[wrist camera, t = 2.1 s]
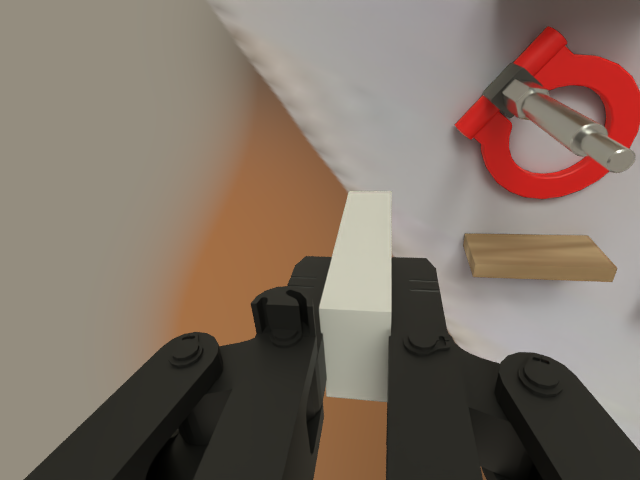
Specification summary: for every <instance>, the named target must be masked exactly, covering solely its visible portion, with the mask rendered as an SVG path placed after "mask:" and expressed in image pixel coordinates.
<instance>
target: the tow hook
mask: <svg viewBox="0 0 640 480" xmlns="http://www.w3.org/2000/svg"><path fill="white" fill-rule="evenodd" d="M566 44H567V41H566V39H565V38H564V37H563V36H562V35H561V34H560V33H559V32H558V31H557V30H555V29H554V28H551V27H549V26H547V27H546V28H545V30H544V31H543V32H542V33H541V34H540V35H539V36H538V37H537V38H536V39H535V40H534V41H533V42H532V43H531V44H530V45H529V46H528V48H527V49H526V50H525V51H524V52H523V53H522V54H521V55H520V56H519V57H518V58H517V59H516V60H515V61H514V62H513V63H510V64H509V65H508V66H507V67H506V68H505V69H504V70H503V72H502V73H501V74H500V75H499V76H498V77H497V78H496V79H495V80H494V81H493V82H492V83H491V84H490V85H489V86H488V87H487V89H486V90H485V91H484V92H483V95H484V96H483V95H482V96H481V97H480V98H479V100H478V101H477V102H476V103H475V104H474V105H473V106H472V107H471V108H470V109H469V110H468V111H467V112H466V113H465V114H464V115H463V116H462V118H461V119H460V120H459V121H458V122H457V123H456V124H455V126H456V128H457V129H458V131H459V132H461V133H462V134H463V135H464V136H465V137H467V138H469V139H471V140H472V139H473V138H475V139H476V140H477V141H478V142H479V143H481V153H482V156H483V160H484V163H485V166H486V168H487V169H488V171H489V172H490V173H491V175H492V176H493V178H494V179H495V181H496V182H497V183H498V184H500V185H501V186H502V187H504V188H505V189H506V190H508V191H509V192H512V193H515V194H517V195H520V196H523V197H528V198H538V199H546V198H554V197H562V196H565V195H568V194H571V193H574V192H577V191H580V190H582V189H584V188H585V187H587V186H589V185H591V184H593V183H594V182H596V181H598V180H599V179H601V178H602V177H603V176H604V175H605V174H607V173H608V172H609V171H610V172H613V173H620V172H623V171H626V170H627V169H629V168H630V167H631V166H632V165H633V163H634V161H635V153H634V152H633V151H632V150H630V149H629V148H630V146H631V144H632V142H633V140H634V138H635V137H636V135H637V133H638V130H639V125H640V91H639V89H638V87H637V85H636V83H635V81H634V79H633V77H632V76H631V75H630V74H629V73H628V72H627V71H626V70H625V69H623V68H622V67H621V66H620V65H619V64H617V63H614V62H612V61H609V60H607V59H604V58H602V57H599V56H594V55H579V54H573V53H572V52H571V51H570V50H569V49H568V48H567V47H566V46H565V45H566ZM569 85H576V86H585V87H588V88H590V89H592V90H593V91H594V92H595V93H596V94H598V95H599V96H600V98H601V100H602V102H603V104H604V106H605V112H606V122H605V127H604V126H603V125H601V124H599V123H597V122H595V121H594V120H592V119H590V118H588V117H586V116H584V115H582V114H581V113H579V112H577V111H575V110H573V109H571V108H569V107H568V106H566V105H564V104H562V103H560V102H558V101H557V100H555V99H553V98H551V97H550V95H549V91H548V90H552V89H555V88H558V87H563V86H569ZM499 109H500V110H501V111H502V112H503V113H504V114H505V115H506V116H508V117H509V118H512V117H513V116H514V115H515V116H516V117H517V118H520V119H525V120H531V121H532V122H533V123H535V124H536V125H537V126H538V127H540V128H541V129H542V130H544V131H545V132H546V133H548V134H549V135H550V136H552V137H553V138H554V139H556V140H557V141H558V142H559V143H561V144H562V145H563V146H565V147H566V148H567V149H569V150H570V151H571V152H573V153H574V154H575V155H577V156H586V157H584V158H583V159H582V160H581V161H580V162H578V163H576V164H574V165H573V166H571V167H569V168H567V169H564V170H561V171H558V172H554V173H546V174H541V173H532V172H529V171H527V170H524V169H522V168H521V167H519V166H518V165H517V164H516V163H515V162H514V160H513V159H512V157H511V153H510V150H509V136H510V133H511V130H512V123H511V122H510V121H509V120H508V119H507V118H506V117H505V116H504V115H502V114H501V113H500V112H499V111H500V110H499Z"/></svg>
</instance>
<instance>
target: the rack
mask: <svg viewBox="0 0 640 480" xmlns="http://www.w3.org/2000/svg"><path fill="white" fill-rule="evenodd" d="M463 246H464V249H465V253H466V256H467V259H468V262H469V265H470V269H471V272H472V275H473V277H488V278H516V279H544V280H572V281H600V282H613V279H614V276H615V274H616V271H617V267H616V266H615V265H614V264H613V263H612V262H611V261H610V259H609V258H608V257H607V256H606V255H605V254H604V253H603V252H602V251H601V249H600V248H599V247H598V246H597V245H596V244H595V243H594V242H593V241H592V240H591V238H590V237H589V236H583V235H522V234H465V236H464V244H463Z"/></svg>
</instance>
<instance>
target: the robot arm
mask: <svg viewBox="0 0 640 480" xmlns="http://www.w3.org/2000/svg"><path fill="white" fill-rule="evenodd" d="M251 307H252V312H253V317H254V322H255V327H256V333H257V334H256V336H255V338H253V339H251V340H248V341H244V342H240V343H235V344H230V345H225V346H219V345H218V343H217V341H216V339H215V338H214V337H213V336H211V335H209V334H207V333H200V332H193V333H188V334H183V335H181V336H179V337H176V338H174V339H172V340H171V341H169V342H168V343H167V344H166V345H164V346H163V347H162V348H160V350H158V351H157V352H156V353H155V354H154V355H153V356H152V357H151V358H150V359H149V360H148V361H147V362H146V363H145V364H144V365H143V366H142V367H141V368H140V369H139V370H138V371H137V372H135V373H134V374H133V375H132V376H131V377H130V378H129V379H128V380H127V381H126V382H125V383H124V384H123V385H122V386H121V387H120V388H119V389H118V390H117V391H116V392H115V393H114V394H113V395H111V396H110V397H109V398H108V399H107V400H106V401H105V402H104V403H103V404H102V405H101V406H100V407H99V408H98V409H97V410H96V411H95V412H94V413H93V414H92V415H91V416H90V417H89V418H87V420H85V422H83V423H82V424H81V425H80V426H79V427H78V428H77V429H76V430H75V431H74V432H73V433H72V434H71V435H70V436H69V437H68V438H67V439H66V440H65V441H63V443H61V444H60V445H59V446H58V447H57V448H56V449H55V450H54V451H53V452H52V453H51V454H50V455H49V456H48V457H47V458H46V459H45V460H44V461H43V462H42V463H41V464H40V465H39V466H37V467H36V468H35V469H34V470H33V471H32V472H31V473H30V474H29V475H28V476H27V477H26V478H25V479H24V480H313V478H314V472H315V466H316V460H317V454H318V448H319V442H320V437H321V431H322V424H323V419H324V413H323V396H324V391H325V386H326V394H327V396H328V397H338V398H349V399H360V400H371V401H381V402H387V442H386V445H387V455H386V480H483V478H482V473H481V468H480V466H481V467H482V470H483V473H484V475H485V477H486V479H487V480H640V451H639V450H638V449H637V447H636V446H635V445H634V444H633V443H632V442H631V440H630V439H629V438H628V437H627V436H626V434H625V433H624V432H623V431H622V430H621V428H620V427H619V426H618V425H617V424H616V423H615V421H614V420H613V419H612V418H611V417H610V415H609V414H608V413H607V412H606V411H605V410H604V408H603V407H602V406H601V405H600V404H599V402H598V401H597V400H596V399H595V398H594V397H593V395H592V394H591V393H590V392H589V391H588V389H587V388H586V387H585V386H584V385H583V384H582V382H581V381H580V380H579V379H578V378H577V376H576V375H575V374H573V373H572V372H571V371H570V370H569V369H568V368H567V367H566V366H565V365H563V364H561V363H559V362H557V361H556V360H554V359H552V358H550V357H547V356H544V355H540V354H537V353H528V352H518V353H515V354H512V355H508V356H507V357H506V358H505V359H504V360H503V361H502V362H501V364H499V363H496V362H492V361H489V360H486V359H483V358H480V357H477V356H474V355H472V354H470V353H468V352H466V351H465V350H463V349H461V348H460V347H459V346H458V345H457V344H455V343H454V340H453V338H452V337H451V336H450V335H449V334H448V331H447V327H446V322H445V316H444V311H443V306H442V300H441V295H440V289H439V284H438V278H437V273H436V268H435V267H434V266H433V265H432V264H431V263H430V262H429V261H428V260H427V259H426V258H396V257H391V191H349V193H348V197H347V201H346V205H345V209H344V213H343V217H342V221H341V224H340V228H339V232H338V236H337V240H336V244H335V248H334V251H333V255H332V257H314V256H311V257H310V256H306V257H304V258H303V259H302V260H301V261H300V262H299V263H298V264H296V265H295V268H294V270H293V273H292V275H291V278H290V280H289V283H288V286H285V287H276V288H273V289H270V290H267V291H264V292H263V293H261V294H260V295H258V296H257V297H256V298H255V299H254V300H253V301H252V303H251Z"/></svg>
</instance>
